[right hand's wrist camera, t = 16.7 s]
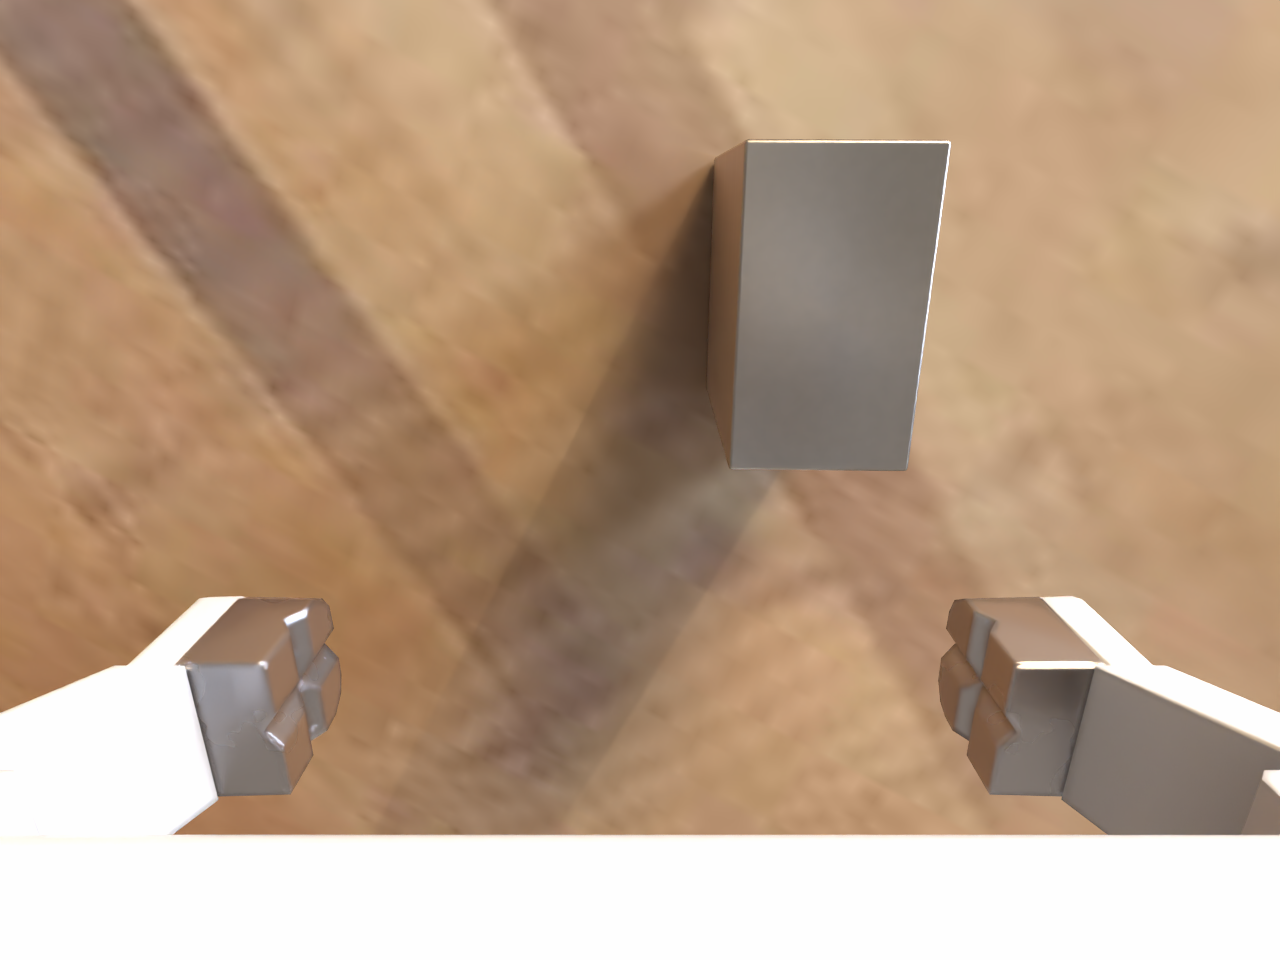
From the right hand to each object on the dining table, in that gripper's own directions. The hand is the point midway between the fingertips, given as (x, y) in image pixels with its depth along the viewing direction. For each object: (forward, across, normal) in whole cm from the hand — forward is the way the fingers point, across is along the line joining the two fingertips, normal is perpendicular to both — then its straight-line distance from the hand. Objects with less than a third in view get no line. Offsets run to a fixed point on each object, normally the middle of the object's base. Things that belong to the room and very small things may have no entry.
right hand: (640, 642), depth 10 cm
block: (+19, +5, +2) cm, 20 cm away
